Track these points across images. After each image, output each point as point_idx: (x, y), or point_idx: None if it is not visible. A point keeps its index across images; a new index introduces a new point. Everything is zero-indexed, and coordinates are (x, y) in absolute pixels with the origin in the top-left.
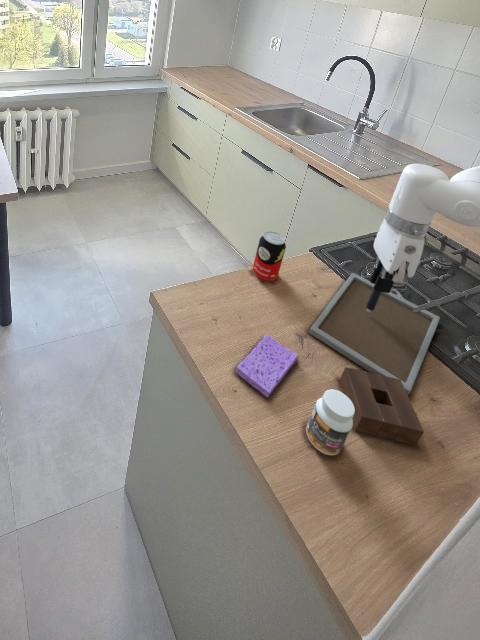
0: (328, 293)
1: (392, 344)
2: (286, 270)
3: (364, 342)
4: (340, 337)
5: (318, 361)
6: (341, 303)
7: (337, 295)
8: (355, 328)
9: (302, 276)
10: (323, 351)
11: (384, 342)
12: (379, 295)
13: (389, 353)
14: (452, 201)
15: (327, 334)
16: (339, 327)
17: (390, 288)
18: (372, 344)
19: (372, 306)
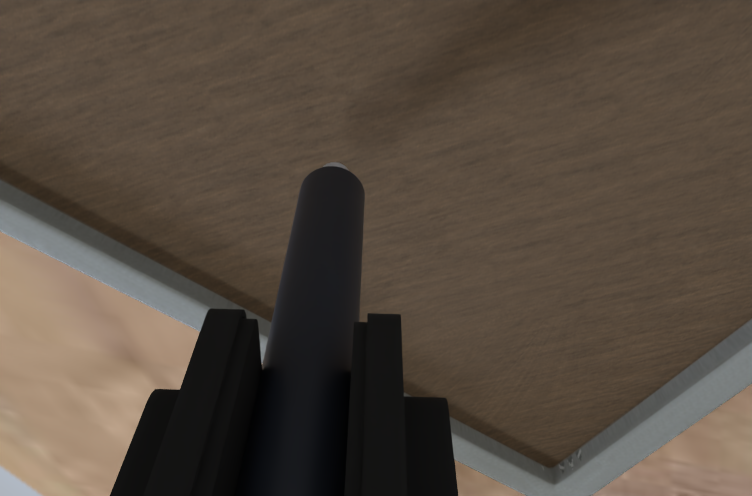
0: (171, 322)
1: (631, 65)
2: (62, 487)
3: (620, 258)
4: (589, 375)
5: (729, 474)
6: (267, 294)
7: None
8: (500, 276)
9: (70, 425)
10: (669, 445)
11: (613, 122)
12: (354, 297)
13: (717, 125)
14: None
15: (601, 456)
16: (507, 360)
17: (399, 374)
18: (635, 214)
19: (363, 224)
